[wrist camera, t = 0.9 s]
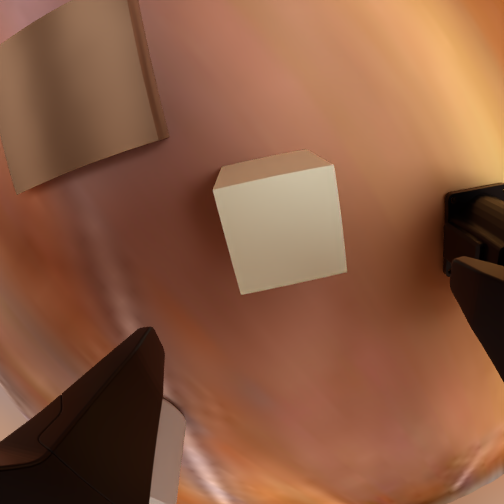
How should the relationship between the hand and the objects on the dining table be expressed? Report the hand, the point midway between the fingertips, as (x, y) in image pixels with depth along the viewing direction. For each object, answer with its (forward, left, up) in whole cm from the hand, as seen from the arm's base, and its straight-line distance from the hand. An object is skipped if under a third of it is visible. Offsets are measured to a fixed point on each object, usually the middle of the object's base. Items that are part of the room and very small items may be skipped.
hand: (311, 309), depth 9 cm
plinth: (+10, -10, -12) cm, 19 cm away
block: (0, 0, -12) cm, 12 cm away
